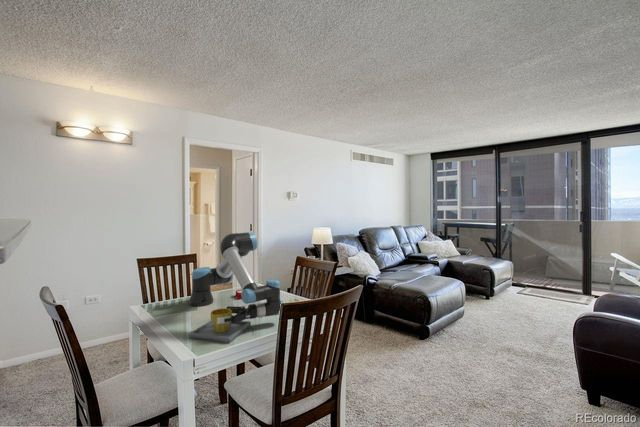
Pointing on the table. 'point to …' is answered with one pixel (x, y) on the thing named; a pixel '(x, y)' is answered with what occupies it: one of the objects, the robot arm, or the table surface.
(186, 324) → the table surface
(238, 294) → the alarm clock
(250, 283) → the robot arm
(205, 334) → the tray
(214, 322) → the plant pot
